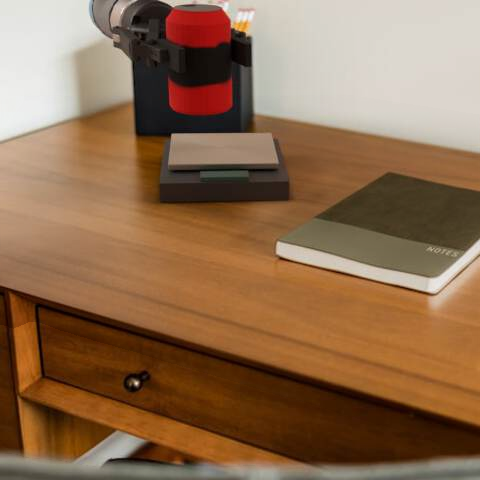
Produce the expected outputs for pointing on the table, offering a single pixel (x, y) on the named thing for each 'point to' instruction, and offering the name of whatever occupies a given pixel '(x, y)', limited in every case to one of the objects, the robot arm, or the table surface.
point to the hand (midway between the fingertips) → (215, 58)
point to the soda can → (201, 59)
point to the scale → (223, 182)
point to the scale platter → (222, 151)
